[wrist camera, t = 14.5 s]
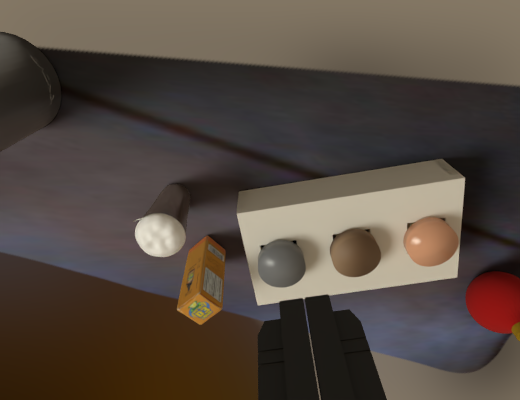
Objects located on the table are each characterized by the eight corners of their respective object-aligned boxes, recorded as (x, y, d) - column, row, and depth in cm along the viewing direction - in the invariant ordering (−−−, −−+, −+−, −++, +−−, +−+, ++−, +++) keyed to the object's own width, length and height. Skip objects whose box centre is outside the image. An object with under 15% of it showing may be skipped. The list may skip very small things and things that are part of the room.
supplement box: (209, 266, 46) (198, 328, 38) (188, 249, 45) (172, 309, 36) (228, 251, 45) (222, 311, 37) (208, 233, 44) (196, 290, 35)
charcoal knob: (261, 254, 45) (262, 290, 39) (254, 220, 43) (254, 253, 37) (301, 248, 45) (308, 284, 39) (296, 213, 43) (302, 245, 37)
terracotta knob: (388, 235, 44) (408, 269, 38) (387, 199, 42) (409, 229, 36) (430, 229, 44) (457, 262, 38) (432, 192, 42) (460, 222, 36)
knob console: (257, 277, 47) (257, 305, 43) (238, 191, 42) (236, 213, 37) (437, 250, 46) (457, 277, 41) (441, 158, 40) (465, 177, 36)
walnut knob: (324, 245, 45) (334, 280, 39) (320, 209, 42) (330, 241, 37) (365, 239, 44) (381, 273, 39) (363, 203, 42) (380, 234, 36)
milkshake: (179, 164, 40) (157, 209, 31) (204, 204, 43) (191, 257, 34) (143, 181, 41) (112, 230, 32) (169, 220, 43) (147, 275, 35)
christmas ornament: (445, 278, 48) (489, 340, 39) (500, 249, 46) (559, 308, 37) (468, 311, 50) (514, 377, 42) (520, 286, 49) (580, 349, 40)
